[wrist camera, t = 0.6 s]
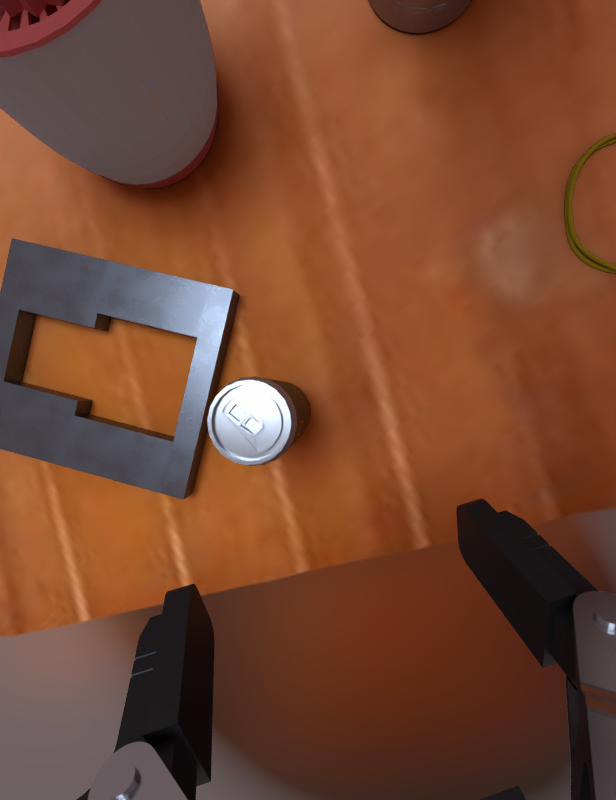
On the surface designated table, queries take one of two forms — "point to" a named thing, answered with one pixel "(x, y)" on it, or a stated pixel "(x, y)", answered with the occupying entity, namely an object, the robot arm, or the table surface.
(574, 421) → the table surface
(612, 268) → the extension cord
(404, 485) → the table surface
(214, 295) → the keyhole plate
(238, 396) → the green drink can
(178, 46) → the citrus juicer
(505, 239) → the table surface
